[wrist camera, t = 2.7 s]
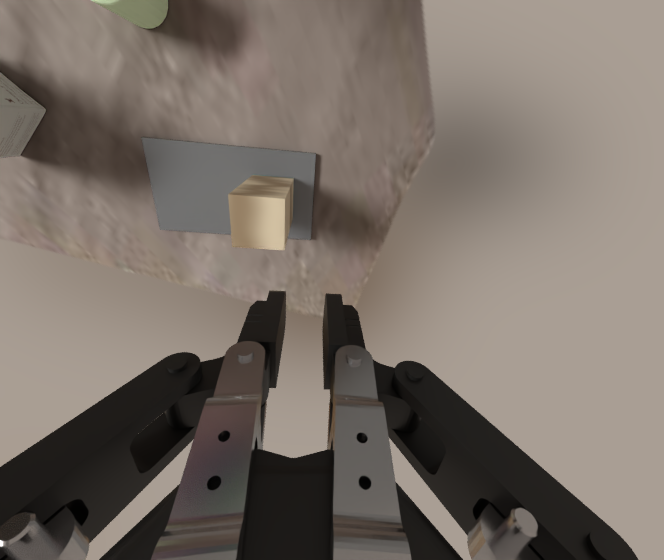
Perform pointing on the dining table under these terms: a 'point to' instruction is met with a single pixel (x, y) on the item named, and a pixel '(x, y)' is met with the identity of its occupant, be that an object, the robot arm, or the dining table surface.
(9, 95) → the supplement box
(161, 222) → the mat
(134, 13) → the candle
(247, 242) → the block
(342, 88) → the dining table surface
